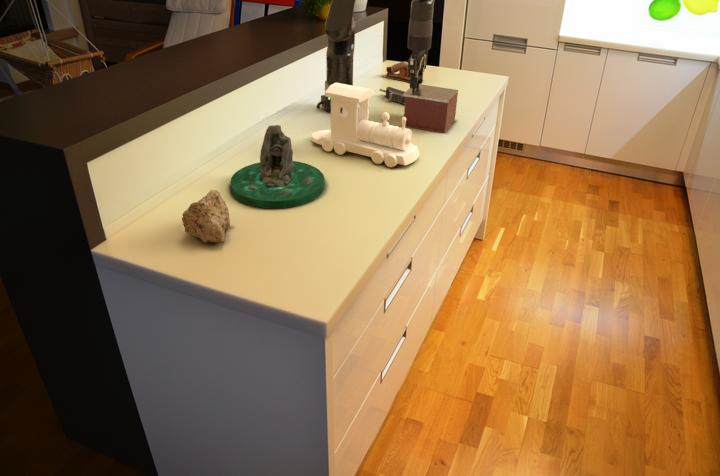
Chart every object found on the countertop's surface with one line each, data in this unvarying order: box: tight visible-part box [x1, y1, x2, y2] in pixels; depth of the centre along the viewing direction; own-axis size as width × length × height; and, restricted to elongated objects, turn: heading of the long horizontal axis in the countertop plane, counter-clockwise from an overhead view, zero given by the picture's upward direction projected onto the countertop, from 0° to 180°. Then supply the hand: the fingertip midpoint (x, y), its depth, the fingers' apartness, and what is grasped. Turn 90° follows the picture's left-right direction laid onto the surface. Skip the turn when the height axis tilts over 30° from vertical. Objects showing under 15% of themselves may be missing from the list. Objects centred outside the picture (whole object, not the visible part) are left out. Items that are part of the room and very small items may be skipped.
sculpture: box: [382, 61, 414, 83], centre depth 247 cm, size 7×16×7 cm, turn 59°
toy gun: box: [379, 86, 406, 105], centre depth 221 cm, size 3×32×15 cm
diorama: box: [229, 124, 326, 209], centre depth 156 cm, size 25×25×15 cm
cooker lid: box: [403, 73, 459, 103], centre depth 198 cm, size 15×13×6 cm
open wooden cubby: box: [403, 92, 459, 134], centre depth 201 cm, size 14×13×10 cm
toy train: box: [310, 83, 420, 168], centre depth 177 cm, size 12×35×19 cm, turn 60°
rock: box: [181, 189, 231, 243], centre depth 137 cm, size 11×12×10 cm
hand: (416, 85), depth 200 cm, fingers closed on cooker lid, 5 cm apart
